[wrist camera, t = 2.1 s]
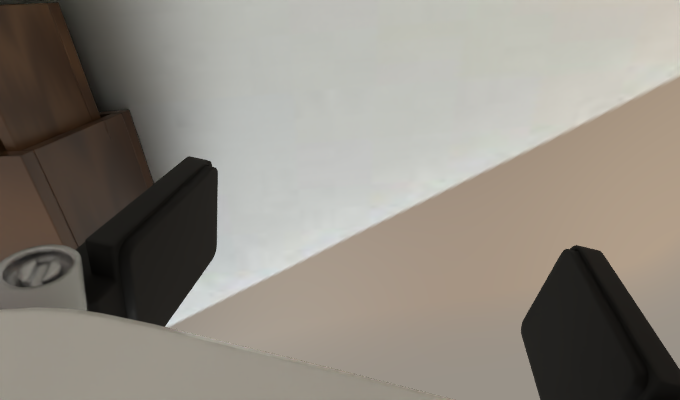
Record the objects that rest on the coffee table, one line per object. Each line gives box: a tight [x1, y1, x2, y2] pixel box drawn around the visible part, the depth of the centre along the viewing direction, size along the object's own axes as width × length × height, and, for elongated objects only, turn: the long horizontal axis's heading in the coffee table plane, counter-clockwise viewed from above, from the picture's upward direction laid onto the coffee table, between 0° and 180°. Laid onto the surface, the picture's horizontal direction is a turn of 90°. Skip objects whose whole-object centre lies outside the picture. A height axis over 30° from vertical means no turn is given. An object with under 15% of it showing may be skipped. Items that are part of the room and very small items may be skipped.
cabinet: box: [0, 110, 154, 262], centre depth 28 cm, size 13×14×9 cm
